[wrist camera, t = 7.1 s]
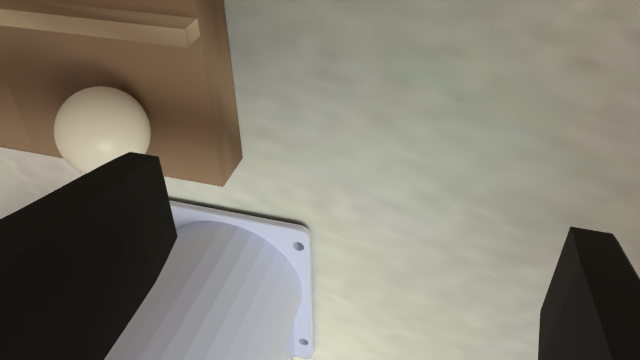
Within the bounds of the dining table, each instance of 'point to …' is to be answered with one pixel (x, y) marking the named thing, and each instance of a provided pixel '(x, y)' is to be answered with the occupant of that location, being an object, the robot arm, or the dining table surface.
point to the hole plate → (124, 75)
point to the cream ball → (100, 127)
